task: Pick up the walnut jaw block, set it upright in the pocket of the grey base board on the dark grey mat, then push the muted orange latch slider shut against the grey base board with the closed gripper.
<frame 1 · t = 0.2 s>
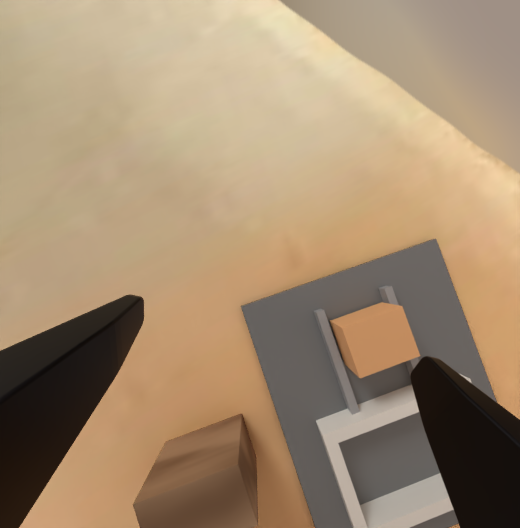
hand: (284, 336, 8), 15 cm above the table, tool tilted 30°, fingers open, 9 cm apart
jaw block: (211, 449, 22), on the table
grey base board: (398, 440, 22), on the table
latch slider: (371, 337, 20), point 2 cm above the table, slide at 3.5 cm
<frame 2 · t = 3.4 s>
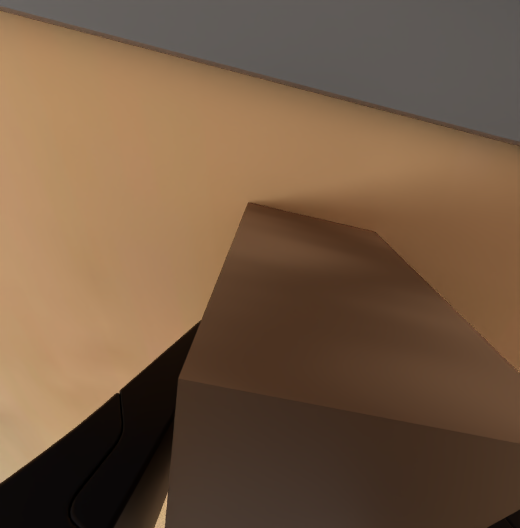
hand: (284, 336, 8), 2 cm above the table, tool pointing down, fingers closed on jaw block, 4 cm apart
jaw block: (282, 306, 9), on the table, touching gripper
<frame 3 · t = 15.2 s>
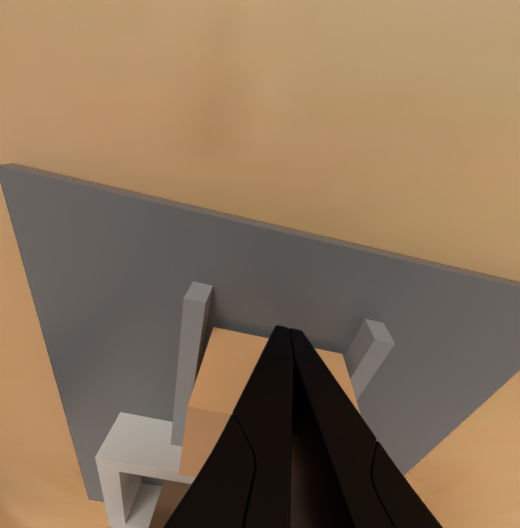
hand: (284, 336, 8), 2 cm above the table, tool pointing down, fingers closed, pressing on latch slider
jaw block: (229, 473, 15), resting on grey base board
grey base board: (231, 464, 16), on the table
latch slider: (265, 410, 9), point 2 cm above the table, slide at 3.1 cm, touching gripper
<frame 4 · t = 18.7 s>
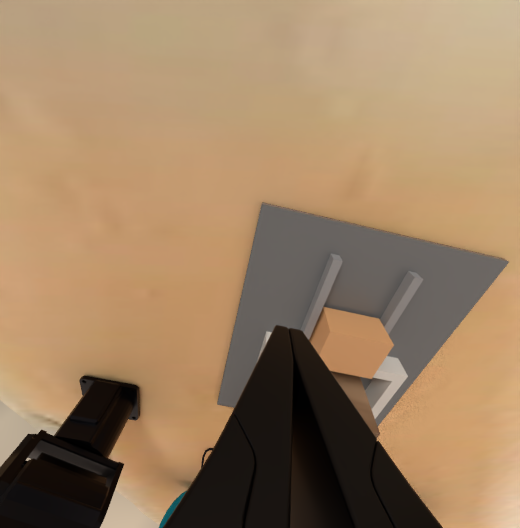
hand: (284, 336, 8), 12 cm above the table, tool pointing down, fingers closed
magnet: (207, 487, 40), on the table
jaw block: (317, 375, 25), resting on grey base board
grey base board: (317, 371, 26), on the table
latch slider: (347, 342, 21), point 2 cm above the table, slide at -0.1 cm
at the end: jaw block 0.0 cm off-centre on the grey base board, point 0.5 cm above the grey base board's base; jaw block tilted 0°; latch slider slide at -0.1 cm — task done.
